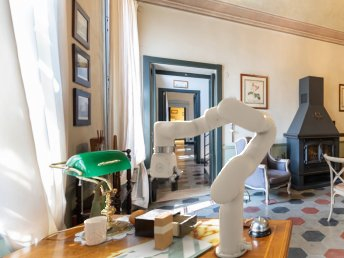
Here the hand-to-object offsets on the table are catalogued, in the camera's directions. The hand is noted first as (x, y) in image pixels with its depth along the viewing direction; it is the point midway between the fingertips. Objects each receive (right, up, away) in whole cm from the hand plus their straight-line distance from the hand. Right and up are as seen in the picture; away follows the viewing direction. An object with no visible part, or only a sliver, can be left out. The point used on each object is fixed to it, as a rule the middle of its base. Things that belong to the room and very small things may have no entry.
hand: (164, 190), depth 100 cm
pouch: (-40, -24, +15) cm, 49 cm away
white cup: (-32, -24, +3) cm, 40 cm away
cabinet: (-11, -24, +14) cm, 30 cm away
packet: (0, -24, 0) cm, 24 cm away
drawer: (+2, -23, +11) cm, 26 cm away
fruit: (-26, -24, +23) cm, 42 cm away
